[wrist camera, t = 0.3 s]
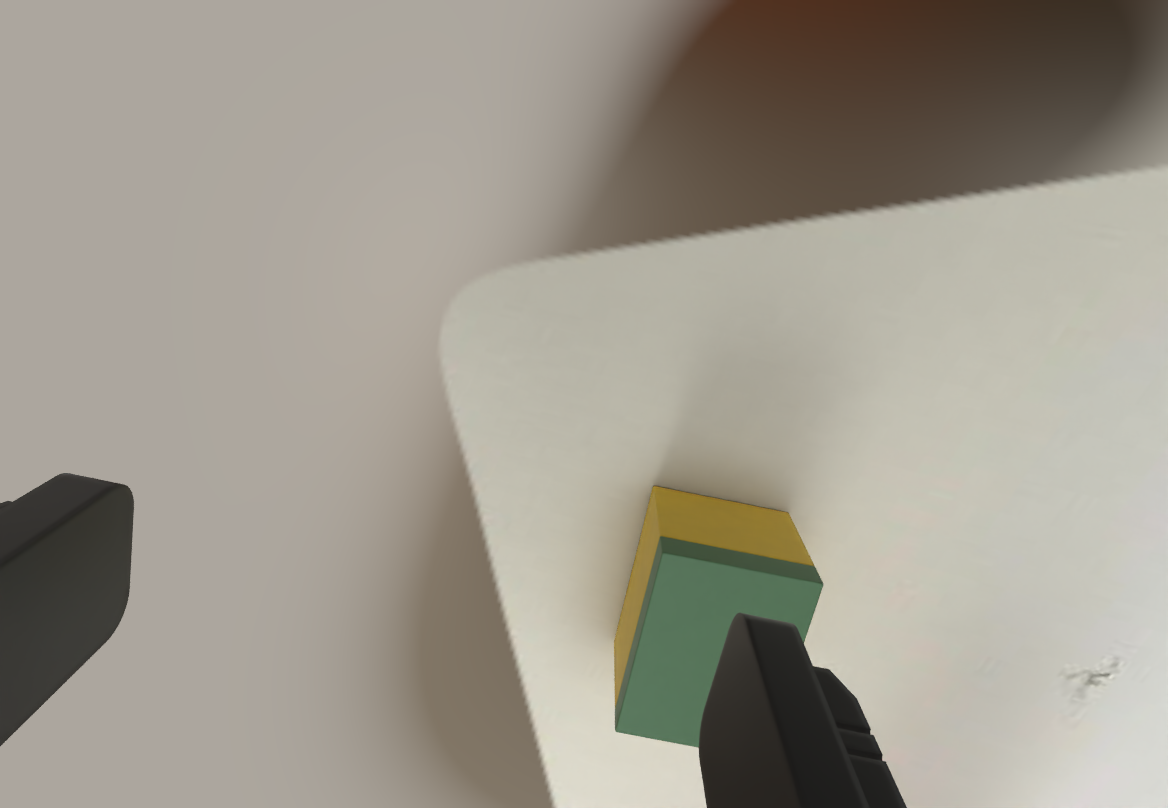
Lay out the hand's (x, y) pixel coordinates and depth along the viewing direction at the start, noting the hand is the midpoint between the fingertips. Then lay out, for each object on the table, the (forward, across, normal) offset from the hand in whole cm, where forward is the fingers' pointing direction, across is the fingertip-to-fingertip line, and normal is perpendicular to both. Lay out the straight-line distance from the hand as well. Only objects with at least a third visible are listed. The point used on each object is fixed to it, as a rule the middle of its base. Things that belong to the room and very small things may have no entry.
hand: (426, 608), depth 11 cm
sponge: (+15, -7, +6) cm, 18 cm away
